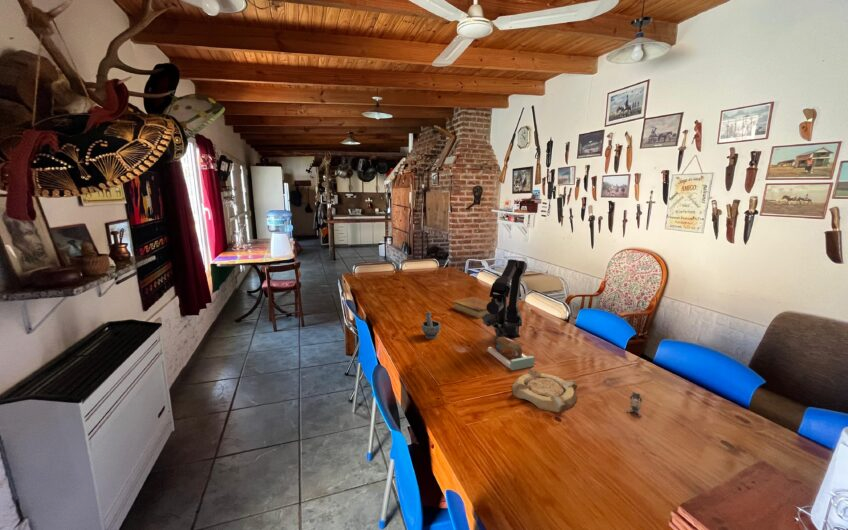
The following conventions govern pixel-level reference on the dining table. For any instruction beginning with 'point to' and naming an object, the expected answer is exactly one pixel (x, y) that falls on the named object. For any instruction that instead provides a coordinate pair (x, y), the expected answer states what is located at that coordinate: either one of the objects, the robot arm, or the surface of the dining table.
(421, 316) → the dining table surface
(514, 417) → the dining table surface
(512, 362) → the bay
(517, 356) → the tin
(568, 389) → the ashtray
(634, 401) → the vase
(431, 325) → the mortar and pestle
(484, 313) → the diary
